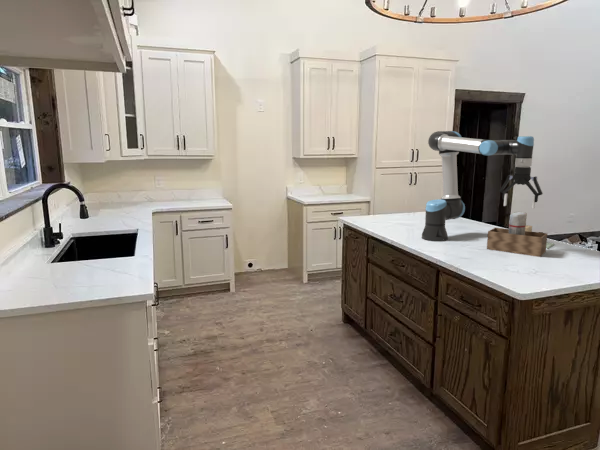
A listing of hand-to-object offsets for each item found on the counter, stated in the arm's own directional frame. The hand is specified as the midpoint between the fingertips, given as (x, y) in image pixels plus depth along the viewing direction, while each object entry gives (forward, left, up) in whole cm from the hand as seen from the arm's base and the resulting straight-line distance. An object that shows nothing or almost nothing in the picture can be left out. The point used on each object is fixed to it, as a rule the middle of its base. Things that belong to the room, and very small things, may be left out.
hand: (518, 207), depth 218 cm
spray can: (0, 0, -23) cm, 23 cm away
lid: (0, +21, -24) cm, 32 cm away
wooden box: (0, 0, -24) cm, 24 cm away
